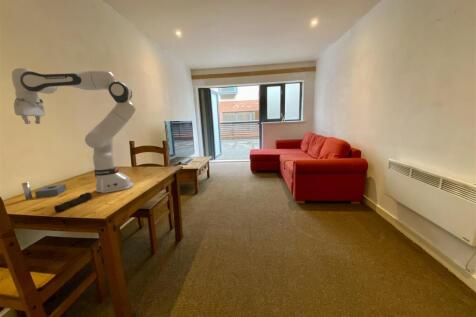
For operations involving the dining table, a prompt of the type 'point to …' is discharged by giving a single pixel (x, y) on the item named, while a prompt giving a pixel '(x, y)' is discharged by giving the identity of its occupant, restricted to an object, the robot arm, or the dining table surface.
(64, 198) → the dining table surface
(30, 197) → the steel pin
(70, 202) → the hand tool
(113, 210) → the dining table surface
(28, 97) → the robot arm
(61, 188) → the hole block
